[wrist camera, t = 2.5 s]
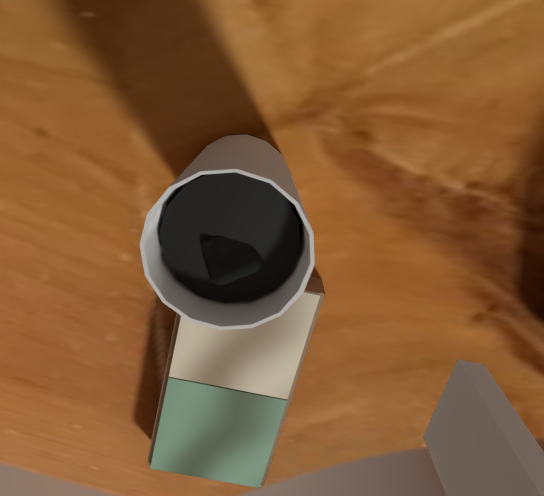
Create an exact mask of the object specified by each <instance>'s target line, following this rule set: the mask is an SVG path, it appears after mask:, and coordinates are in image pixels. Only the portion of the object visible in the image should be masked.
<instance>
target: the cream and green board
mask: <svg viewBox="0 0 544 496" xmlns="http://www.w3.org/2000/svg"><path fill="white" fill-rule="evenodd" d="M324 295H325V291H324V287H323V283H322V279H321V278H317V277H312V276H310V277H309V280H308V282H307V285H306V287H305V290H304V292H303V294H302V295H301V296H300V297H299V298H298V299H297V300H296V301H295V302H294V303H293V304H292V305H291V306H290V307H289V308H288V309H287V310H286V311H285V312H284V313H283V314H282V315H281V316H279V317H276V318H274V319H272V320H270V321H267V322H265V323H263V324H260V325H258V326H256V327H254V328H246V329H230V330H218V329H214V328H211V327H207V326H204V325H200V324H197V323H193V322H189V321H188V320H186V319H185V318H184V317H182V316H181V315H179V314H178V313H176V319H175V324H174V329H173V334H172V339H171V344H170V349H169V354H168V359H167V364H166V369H165V374H164V379H163V384H162V389H161V394H160V399H159V404H158V409H157V414H156V419H155V424H154V429H153V435H152V440H151V445H150V450H149V455H148V460H147V465H150V466H151V467H150V469H155V470H161V471H167V472H172V473H178V474H184V475H189V476H195V477H201V478H206V479H212V480H218V481H223V482H229V483H235V484H240V485H246V486H252V487H257V488H260V485H263V486H264V484H265V480H266V477H267V474H268V471H269V468H270V465H271V462H272V459H273V455H274V452H275V449H276V446H277V443H278V440H279V437H280V433H281V430H282V427H283V424H284V421H285V418H286V415H287V411H288V408H289V405H290V402H291V399H292V396H293V393H294V389H295V386H296V383H297V380H298V377H299V374H300V371H301V368H302V364H303V361H304V358H305V355H306V352H307V349H308V346H309V342H310V339H311V336H312V333H313V330H314V327H315V324H316V320H317V317H318V314H319V311H320V308H321V305H322V302H323V298H324Z"/></svg>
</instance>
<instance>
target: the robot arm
mask: <svg viewBox="0 0 544 496" xmlns="http://www.w3.org/2000/svg"><path fill="white" fill-rule="evenodd" d="M423 438H424V440H425V443H426V445H427V448H428V450H429V452H430V455H431V458H432V460H433V463H434V465H435V468H436V470H437V473H438V475H439V478H440V480H441V483H442V485H443V488H444V490H445V493H446V495H447V496H544V452H543V450H542V449H541V448H540V446H539V445H538V443H537V442H536V440H535V439H534V437H533V436H532V434H531V433H530V431H529V430H528V428H527V427H526V425H525V424H524V423H523V421H522V420H521V418H520V417H519V415H518V414H517V412H516V411H515V409H514V408H513V406H512V405H511V403H510V402H509V400H508V399H507V398H506V396H505V395H504V393H503V392H502V390H501V389H500V387H499V386H498V384H497V383H496V381H495V380H494V378H493V377H492V375H491V374H490V373H489V371H488V370H487V368H486V367H485V365H484V364H479V363H474V362H469V361H465V360H460V359H458V360H457V362H456V365H455V367H454V369H453V371H452V374H451V376H450V378H449V380H448V382H447V385H446V387H445V389H444V391H443V394H442V396H441V398H440V400H439V403H438V405H437V407H436V409H435V411H434V414H433V416H432V418H431V420H430V423H429V425H428V427H427V429H426V431H425V434H424V436H423Z"/></svg>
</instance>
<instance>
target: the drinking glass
mask: <svg viewBox="0 0 544 496" xmlns="http://www.w3.org/2000/svg"><path fill="white" fill-rule="evenodd" d="M140 250H141V255H142V261H143V266H144V272H145V276H146V278H147V279H148V281H149V282H150V284H151V285H152V287H153V289H154V290H155V292H156V293H157V295H158V296H159V298H160V299H161V301H162V302H163V303H164V304H165V305H167V306H168V307H170V308H171V309H172V310H174V311H175V312H177V313H178V314H179V315H181V316H182V317H184V318H185V319H186V320H188V321H189V322H193V323H197V324H200V325H204V326H207V327H211V328H214V329H218V330H230V329H246V328H254V327H256V326H258V325H260V324H263V323H265V322H267V321H270V320H272V319H274V318H276V317H279V316H281V315H282V314H283V313H284V312H285V311H286V310H287V309H288V308H289V307H290V306H291V305H292V304H293V303H294V302H295V301H296V300H297V299H298V298H299V297H300V296H301V295H302V294H303V292H304V290H305V287H306V285H307V282H308V280H309V277H310V275H311V272H312V270H313V267H314V265H315V261H314V236H313V231H312V228H311V225H310V223H309V220H308V217H307V215H306V212H305V209H304V207H303V204H302V202H301V199H300V196H299V194H298V191H297V188H296V186H295V183H294V180H293V178H292V175H291V172H290V170H289V168H288V166H287V164H286V162H285V160H284V158H283V156H282V154H281V153H280V152H278V151H277V150H276V149H275V148H274V147H273V146H272V145H270V144H269V143H268V142H267V141H265V140H262V139H259V138H256V137H253V136H250V135H247V134H242V135H229V136H224V137H222V138H220V139H218V140H216V141H214V142H212V143H210V144H209V145H207V146H206V147H205V148H204V150H203V151H202V152H201V153H200V154H199V155H198V156H197V157H196V158H195V159H194V160H193V162H192V163H191V164H190V165H189V166H188V167H187V168H186V169H185V170H184V171H183V172H182V173H181V175H180V176H179V177H178V178H177V179H176V180H175V181H174V182H173V183H172V184H171V185H170V187H169V188H168V189H167V190H166V191H165V193H164V194H163V195H162V196H161V197H160V199H159V200H158V201H157V202H156V204H155V205H154V206H153V207H152V208H151V210H150V211H149V212H148V213H147V217H146V221H145V225H144V229H143V233H142V237H141V241H140Z"/></svg>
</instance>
